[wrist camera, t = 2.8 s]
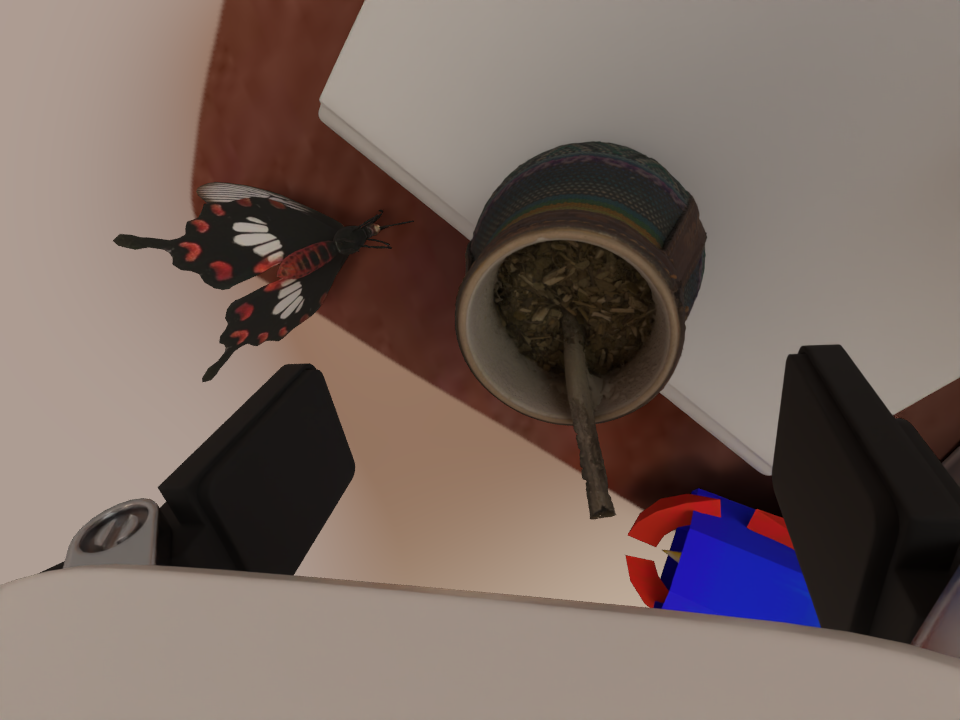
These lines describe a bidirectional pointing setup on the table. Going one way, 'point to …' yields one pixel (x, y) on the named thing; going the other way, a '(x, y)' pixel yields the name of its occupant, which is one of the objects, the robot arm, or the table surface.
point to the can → (953, 465)
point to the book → (708, 162)
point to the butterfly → (262, 258)
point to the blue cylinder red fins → (721, 561)
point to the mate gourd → (581, 290)
